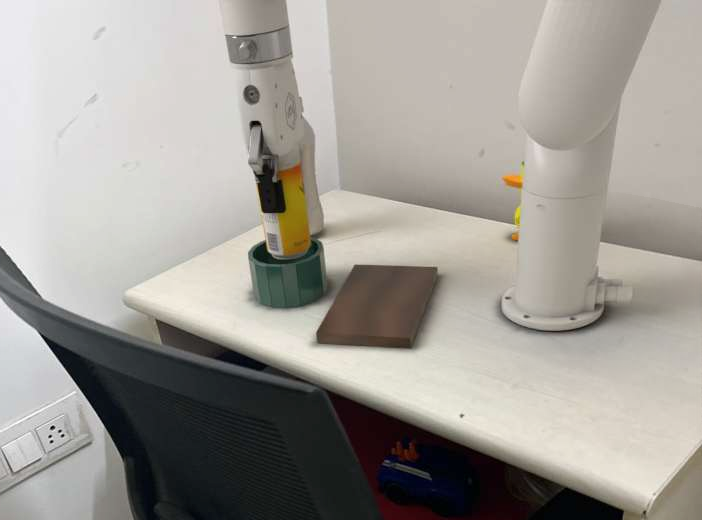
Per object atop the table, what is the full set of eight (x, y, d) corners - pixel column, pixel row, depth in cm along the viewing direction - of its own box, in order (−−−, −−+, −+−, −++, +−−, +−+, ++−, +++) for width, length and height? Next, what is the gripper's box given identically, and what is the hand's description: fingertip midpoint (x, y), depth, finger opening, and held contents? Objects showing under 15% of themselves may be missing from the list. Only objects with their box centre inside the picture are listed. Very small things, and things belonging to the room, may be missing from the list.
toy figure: (493, 237, 117) (497, 154, 109) (507, 229, 119) (512, 147, 111) (532, 246, 113) (539, 162, 105) (545, 238, 115) (553, 154, 107)
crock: (335, 275, 112) (331, 235, 108) (315, 309, 105) (310, 267, 101) (268, 273, 115) (262, 234, 111) (244, 306, 107) (236, 265, 103)
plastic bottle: (321, 241, 122) (307, 104, 109) (280, 242, 123) (261, 106, 110) (329, 225, 127) (316, 92, 114) (289, 226, 128) (272, 94, 115)
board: (437, 276, 109) (437, 266, 108) (410, 348, 94) (410, 337, 93) (355, 274, 112) (354, 264, 111) (316, 343, 98) (315, 332, 97)
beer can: (320, 245, 106) (306, 129, 97) (295, 263, 102) (278, 145, 93) (284, 240, 109) (267, 127, 99) (259, 258, 105) (239, 142, 96)
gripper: (265, 63, 83) (289, 228, 94) (311, 29, 95) (327, 179, 107) (201, 67, 85) (233, 228, 96) (254, 33, 97) (276, 180, 109)
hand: (282, 201), depth 101 cm, fingers closed on beer can, 6 cm apart
